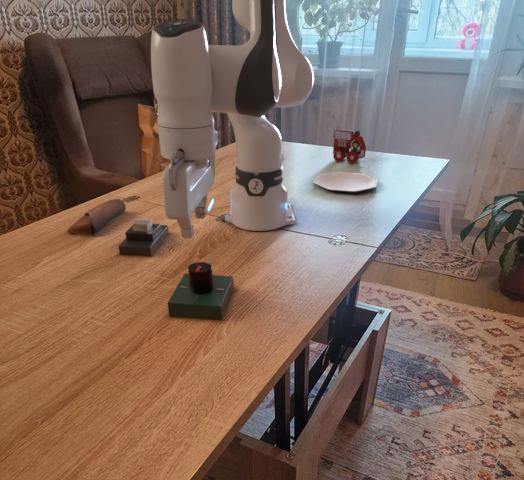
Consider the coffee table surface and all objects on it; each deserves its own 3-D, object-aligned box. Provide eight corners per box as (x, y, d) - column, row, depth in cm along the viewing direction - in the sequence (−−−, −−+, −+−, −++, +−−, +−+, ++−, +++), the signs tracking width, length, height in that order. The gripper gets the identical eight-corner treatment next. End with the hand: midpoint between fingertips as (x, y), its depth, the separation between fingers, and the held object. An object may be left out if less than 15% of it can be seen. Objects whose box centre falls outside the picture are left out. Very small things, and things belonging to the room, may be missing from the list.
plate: (374, 197, 144) (374, 192, 144) (309, 192, 149) (309, 187, 148) (378, 179, 160) (379, 174, 159) (320, 174, 164) (320, 170, 163)
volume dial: (193, 282, 94) (191, 259, 91) (215, 283, 94) (214, 261, 91) (187, 293, 90) (185, 270, 88) (210, 294, 90) (208, 271, 87)
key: (138, 226, 116) (137, 218, 115) (153, 227, 116) (151, 218, 115) (133, 232, 114) (132, 223, 112) (148, 232, 113) (146, 224, 112)
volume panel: (186, 286, 99) (184, 272, 97) (233, 289, 98) (233, 275, 96) (169, 316, 89) (167, 301, 88) (222, 320, 88) (221, 305, 87)
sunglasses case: (98, 208, 136) (106, 188, 132) (120, 222, 137) (128, 203, 133) (65, 232, 122) (72, 211, 118) (89, 247, 123) (97, 227, 119)
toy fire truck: (361, 164, 174) (364, 133, 168) (328, 161, 179) (331, 130, 173) (366, 160, 180) (369, 130, 174) (334, 156, 184) (336, 127, 178)
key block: (140, 232, 123) (137, 217, 121) (169, 233, 122) (167, 218, 120) (119, 255, 112) (116, 238, 109) (151, 256, 111) (149, 240, 109)
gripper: (190, 160, 68) (198, 251, 76) (219, 130, 84) (223, 208, 92) (147, 159, 69) (159, 249, 77) (184, 129, 85) (191, 206, 93)
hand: (194, 226), depth 85 cm, fingers open, 8 cm apart
